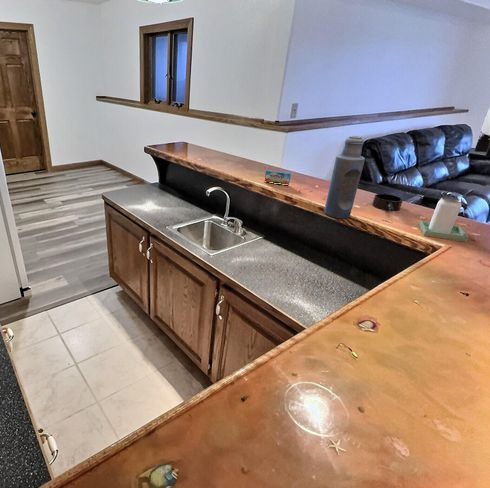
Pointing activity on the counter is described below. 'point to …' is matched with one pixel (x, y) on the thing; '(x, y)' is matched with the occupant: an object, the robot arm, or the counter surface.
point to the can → (445, 215)
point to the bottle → (345, 179)
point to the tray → (455, 233)
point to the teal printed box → (277, 177)
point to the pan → (387, 202)
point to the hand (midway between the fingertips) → (485, 154)
